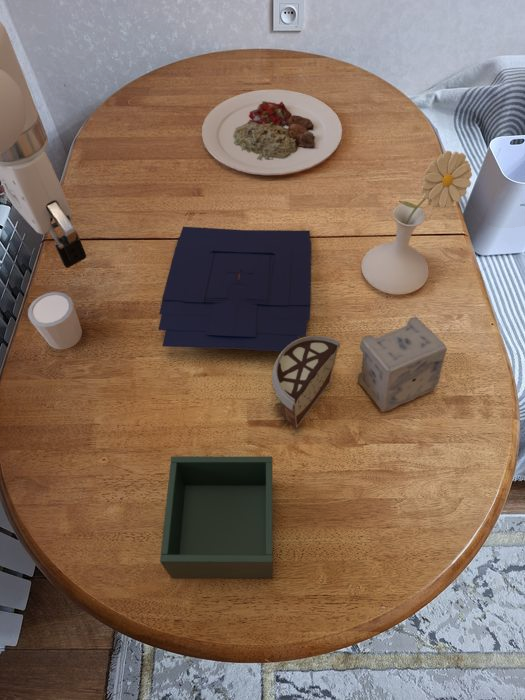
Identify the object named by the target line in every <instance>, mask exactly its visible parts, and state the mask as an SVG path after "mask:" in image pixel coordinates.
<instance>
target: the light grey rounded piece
mask: <svg viewBox="0 0 525 700" xmlns="http://www.w3.org/2000/svg"><path fill="white" fill-rule="evenodd" d="M29 305H30V306H29V307H28V309H27V317H28V319H29V321H30V323H31V324H32V325H33V326H34V328H35V329H36V330H37V331H38V333H39V334H40V335H41V336H42V338H43V339H44V340H45V341H46V343H47V344H48V345H49V346H50V347H51V348H53V349H57V350H66V349H69V348H72V347H74V346H75V345H77V343H79V341H80V340H81V339H82V336H83V329H82V325H81V323H80V320H79V317H78V314H77V311H76V308H75V307H76V306H75V305H74V302H73V300H72V298H71V297H70V296H69V295H68V294H66V293H64V292H59V291H51V292H46V293H44V294H42V295H40V296H38V297H36V298H35V299H34V300H33V301H32V302H31V304H29Z"/></svg>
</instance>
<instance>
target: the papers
mask: <svg viewBox="0 0 525 700" xmlns="http://www.w3.org/2000/svg"><path fill="white" fill-rule="evenodd" d="M175 245H176V246H175V248H174V252H173V255H172V258H171V259H172V260H171V264H170V267H169V271H168V275H167V279H166V282H165V286H164V290H163V294H162V297H161V304H160V309H159V313H158V315H160V321H159V325H158V331H165V333H164V337H163V341H162V346H161V347H164V348H165V347H166V348H168V347H169V348H194V349H195V348H200V349H229V350H230V349H231V350H246V351H247V350H250V351H268V352H269V351H270V352H282V351H283V350H284V349H285V348H286V347H287V346H288V345H289V344H291V343H292V342H294V341H296V340H298V339H299V337H307V331H308V330H307V328H308V321H310V320H311V305H312V303H311V301H312V300H311V299H312V241H311V230H297V229H296V230H295V229H294V230H289V229H288V230H287V229H286V230H283V229H281V230H280V229H275V230H274V229H271V230H270V229H263V230H262V229H232V228H230V229H229V228H214V227H199V226H198V227H195V226H182V228H181V231H180V235H179V236H178V238H177V241H176V244H175Z"/></svg>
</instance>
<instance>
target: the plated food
mask: <svg viewBox="0 0 525 700" xmlns="http://www.w3.org/2000/svg"><path fill="white" fill-rule="evenodd" d="M342 135H343V128H342V122H341V120H340V118H339V116H338V115H337V113H336V112H335V111H334V110H333V109H332V108H331V106H329V105H328V104H326V103H325V102H323V101H322V100H320V99H318V98H316V97H314V96H311V95H308V94H305V93H302V92H299V91H293V90H286V89H260V90H252V91H247V92H244V93H239V94H237V95H235V96H232V97H230V98H227V99H226V100H223V101H222V102H221V103H218V104H217V105H216V106H215V107H214V108H212V110H210V112H209V113H208V114H207V115H206V117H205V119H204V121H203V124H202V126H201V139H202V142H203V145H204V147H205V149H206V150H207V152H208V153H209V154H210V155H211V156H212V157H213V158H215V160H216V161H218V162H220V163H221V164H223V165H224V166H226V167H228V168H231V169H234V170H236V171H238V172H243V173H246V174H251V175H259V176H283V175H289V174H296V173H299V172H302V171H306V170H309V169H311V168H314V167H316V166H317V165H320V164H322V163H323V162H324V161H326V160H327V159H329V158H330V157H331V156H332V155H333V153H334V152H335V151H336V150H337V149H338V147H339V145H340V143H341V141H342Z"/></svg>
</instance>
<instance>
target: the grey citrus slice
mask: <svg viewBox="0 0 525 700" xmlns="http://www.w3.org/2000/svg"><path fill="white" fill-rule="evenodd" d="M340 348H341V342H340V340H337V339H335V338H332V337H330V336H325V335H308V336H302V337H301V338H300V337H299V338H298V340H296V341H294V342H292V343H291V344H289V345H288V346H287V347H286V348H285V349H284V350H283V351H280V353H279V354H278V356H277V358H276V360H275V363H274V365H273V369H272V372H271V382H272V388H273V390H274V393H275V394H276V397H277V398H278V399H279V403H280V404H279V405H280V410H281V413H282V415H283V418H284V419H285V420H286V422H287V423H288V424H289V425H290V426H291V427H292V428H294V429H297V428H298V427H299V426H300V424H301V423H302V422H303V421H304V419H305V417H307V415H308V414H309V412H310V410H312V408H313V407H314V405H316V403H317V401H318V400H319V399H320V397H321V396H322V394H324V392H325V390H326V389H327V388H328V387H329V385H330V384H331V380H332V375H333V372H334V368H335V363H336V358H337V354H338V350H339V349H340Z"/></svg>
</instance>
